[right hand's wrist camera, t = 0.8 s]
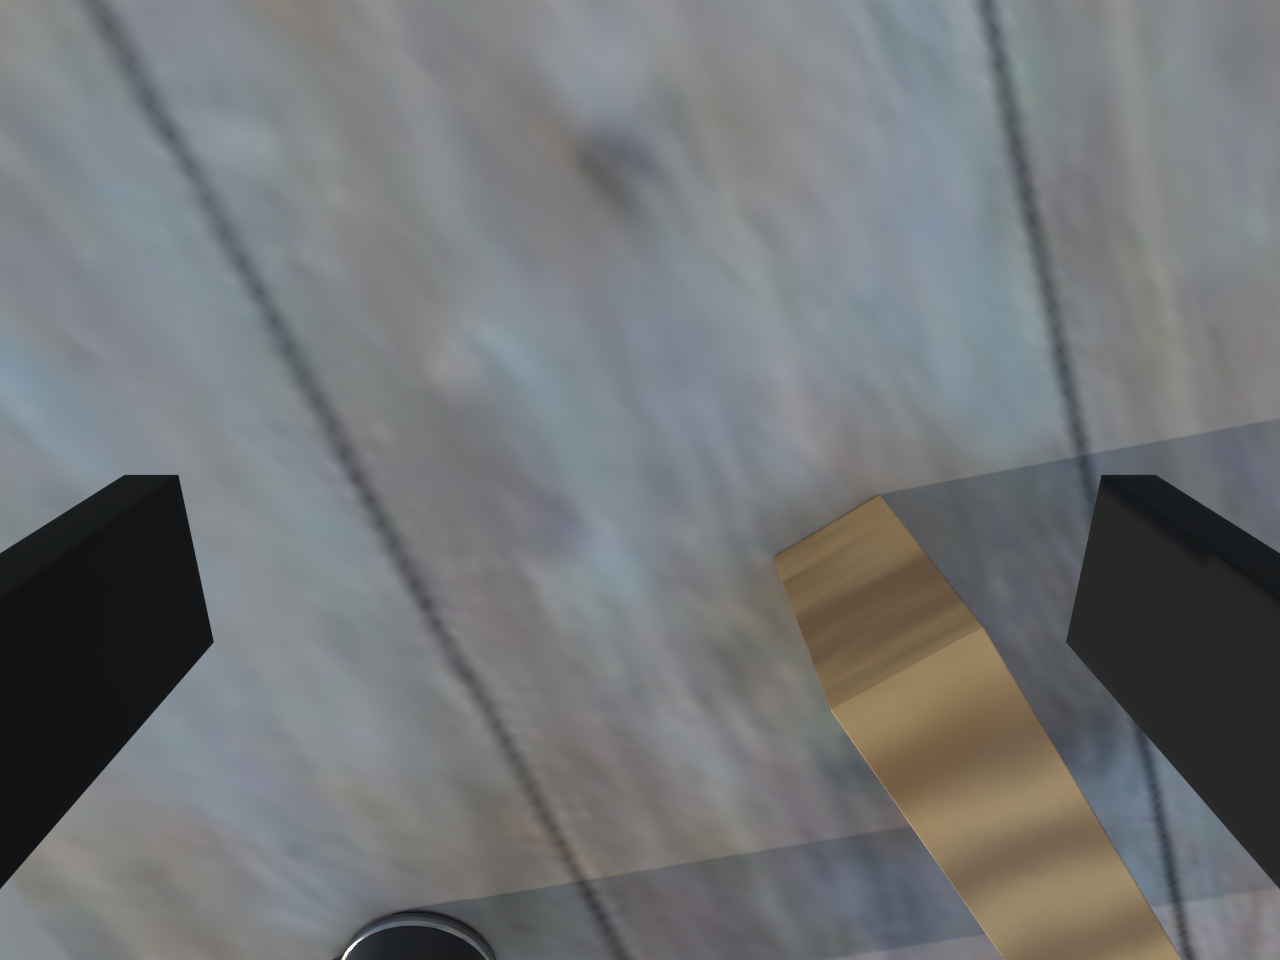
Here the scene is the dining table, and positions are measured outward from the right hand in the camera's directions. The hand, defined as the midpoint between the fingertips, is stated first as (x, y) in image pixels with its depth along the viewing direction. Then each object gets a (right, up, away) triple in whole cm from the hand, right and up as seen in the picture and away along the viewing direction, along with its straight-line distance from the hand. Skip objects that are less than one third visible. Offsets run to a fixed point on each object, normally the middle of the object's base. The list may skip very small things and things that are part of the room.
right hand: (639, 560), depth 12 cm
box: (+15, -9, +33) cm, 37 cm away
